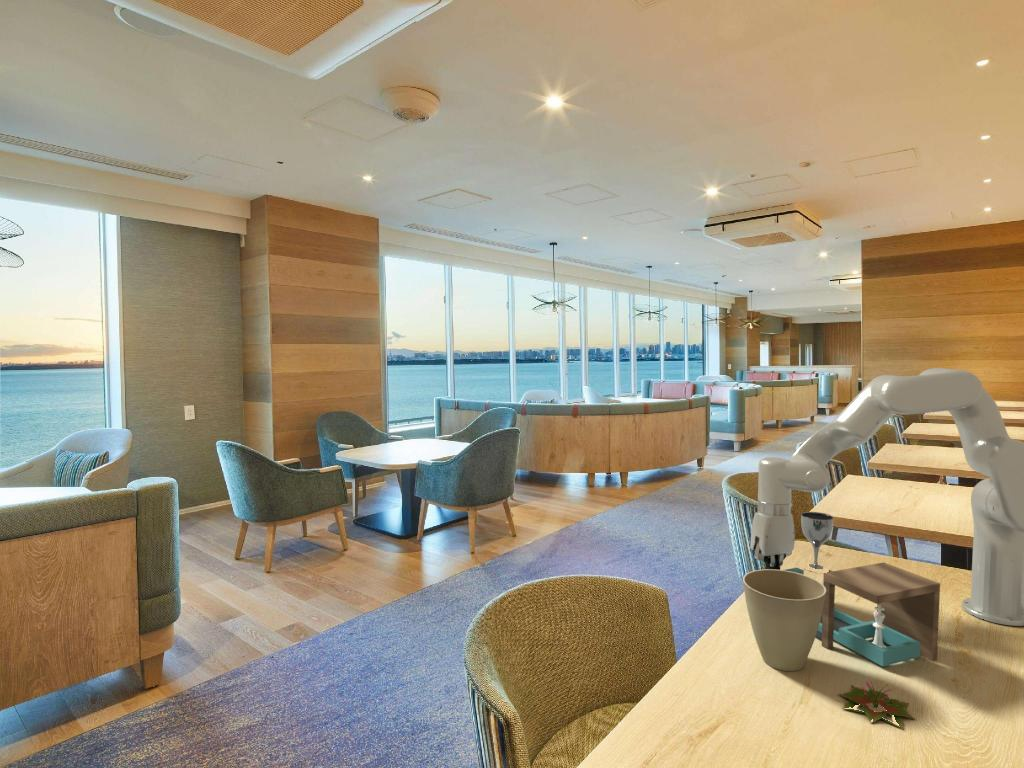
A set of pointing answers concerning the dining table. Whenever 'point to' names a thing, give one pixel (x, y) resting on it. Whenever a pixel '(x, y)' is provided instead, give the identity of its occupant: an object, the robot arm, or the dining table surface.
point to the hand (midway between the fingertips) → (772, 580)
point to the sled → (861, 631)
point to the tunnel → (887, 602)
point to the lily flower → (875, 697)
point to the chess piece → (879, 626)
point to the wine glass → (816, 531)
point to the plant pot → (784, 615)
